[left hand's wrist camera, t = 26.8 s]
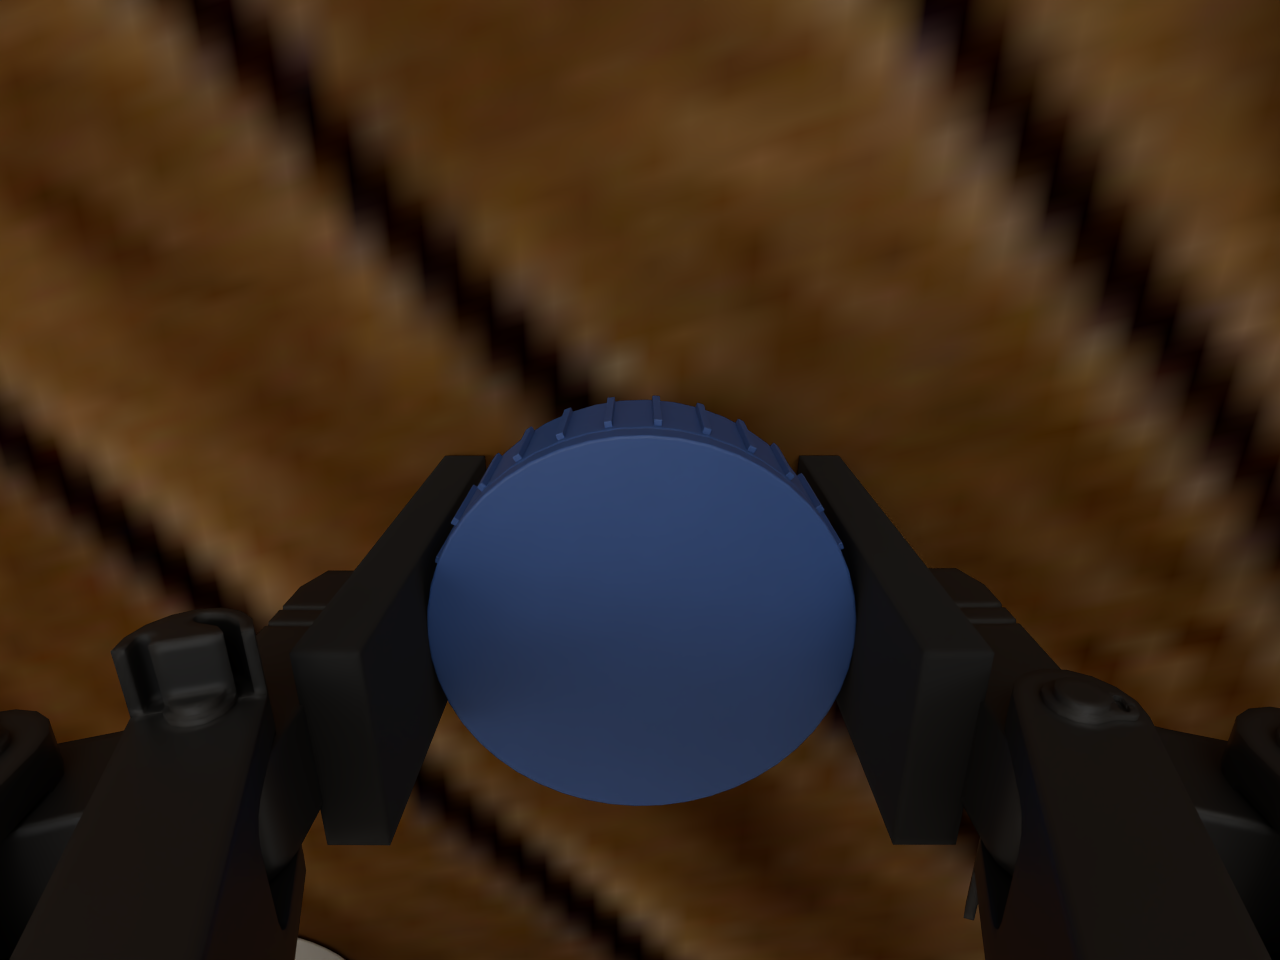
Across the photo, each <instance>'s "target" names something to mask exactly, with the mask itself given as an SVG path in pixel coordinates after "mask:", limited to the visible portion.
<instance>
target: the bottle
mask: <svg viewBox="0 0 1280 960" xmlns="http://www.w3.org/2000/svg"><path fill="white" fill-rule="evenodd" d="M295 960H345V959H344V958H342V957H341V956H339V955H338V954H336V953H334V952H332V951H331V950H329V949H327V948H325V947H322V946H320V945H318V944H315V943H313V942H310V941H307V940H304V939H301V938H298V939H297V947H296V955H295Z"/></svg>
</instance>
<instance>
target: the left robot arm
mask: <svg viewBox="0 0 1280 960" xmlns="http://www.w3.org/2000/svg"><path fill="white" fill-rule="evenodd" d="M485 472H486V466H485V456H445V457H444V458H443V459H442V461H441V462H440V463H439V464H438V466H437V467H436V468H435V469H434V471H433V472H432V473H431V475H430V476H429V477H428V478H427V480H426V481H425V482H424V483H423V485H422V486H421V487H420V488H419V490H418V491H417V492H416V493H415V495H414V496H413V497H412V498H411V500H410V501H409V502H408V504H407V505H406V506H405V507H404V509H403V510H402V511H401V512H400V514H399V515H398V516H397V517H396V519H395V520H394V521H393V522H392V524H391V525H390V526H389V528H388V529H387V530H386V531H385V533H384V534H383V535H382V536H381V538H380V539H379V540H378V541H377V543H376V544H375V545H374V546H373V548H372V549H371V550H370V552H369V553H368V554H367V555H366V557H365V558H364V559H363V560H362V562H361V563H360V564H359V565H358V567H357V568H356V569H355V570H354V571H327V572H325V573H323V574H322V575H320V576H318V577H317V578H315V579H313V580H311V581H310V582H308V583H306V584H305V585H303V586H301V587H300V588H299V589H298V590H297V591H296V592H295V593H294V595H293V596H292V597H291V598H290V599H289V600H288V601H287V602H286V603H285V605H284V606H283V610H279V611H278V612H277V613H276V615H275V616H274V617H273V618H272V619H271V620H270V621H269V626H265V627H264V628H263V629H262V630H261V631H260V632H259V633H258V635H257V636H256V634H255V629H254V625H253V620H252V618H251V617H249V616H248V615H246V614H245V613H243V612H242V611H238V610H232V609H227V608H210V609H197V610H192V611H188V612H183V613H179V614H174V615H171V616H168V617H165V618H163V619H160V620H157V621H155V622H152V623H150V624H147V625H145V626H143V627H141V628H140V629H138V630H136V631H135V632H133V633H131V634H130V635H128V636H126V637H124V638H123V639H122V640H121V641H120V642H119V644H118V645H117V646H116V647H115V648H114V649H113V650H112V651H111V654H112V658H113V661H114V664H115V668H116V671H117V674H118V677H119V681H120V684H121V687H122V691H123V694H124V697H125V701H126V704H127V707H128V710H129V714H130V717H131V718H130V720H129V722H128V724H127V726H126V728H125V730H124V731H120V732H115V733H110V734H105V735H100V736H95V737H90V738H85V739H80V740H74V741H69V742H64V743H59V744H57V741H56V739H55V736H54V733H53V730H52V727H51V724H50V722H49V719H48V718H46V717H45V716H43V715H42V714H40V713H39V712H37V711H27V710H9V711H2V712H0V960H295V955H296V947H297V939H298V931H299V923H300V915H301V907H302V898H303V890H304V882H305V874H306V867H305V861H304V854H303V850H302V845H301V844H302V842H303V840H304V839H305V837H306V835H307V833H308V831H309V829H310V827H311V826H312V824H313V822H314V820H315V818H316V816H317V814H318V812H319V811H320V809H321V814H322V819H323V824H324V829H325V834H326V839H327V844H328V845H390V844H391V842H392V839H393V837H394V834H395V831H396V829H397V826H398V824H399V821H400V819H401V816H402V814H403V811H404V809H405V806H406V804H407V801H408V799H409V796H410V794H411V791H412V789H413V786H414V784H415V781H416V779H417V776H418V774H419V771H420V769H421V766H422V764H423V761H424V759H425V756H426V753H427V751H428V748H429V746H430V743H431V741H432V738H433V736H434V733H435V731H436V728H437V726H438V723H439V721H440V718H441V716H442V713H443V711H444V708H445V706H446V703H447V701H448V699H447V697H446V695H445V693H444V691H443V689H442V687H441V685H440V683H439V681H438V677H437V674H436V671H435V668H434V665H433V662H432V658H431V653H430V646H429V639H428V628H427V607H428V600H429V593H430V586H431V582H432V579H433V576H434V572H435V569H436V566H437V563H435V560H436V556H437V555H438V553H439V551H440V549H441V548H442V546H443V544H444V542H445V541H446V539H447V537H448V535H449V534H450V532H451V530H452V529H453V527H454V525H453V524H451V522H452V520H453V518H454V516H455V515H456V513H457V511H458V510H459V508H460V506H461V505H462V503H463V501H464V500H465V498H466V496H467V494H468V493H469V491H470V489H471V488H472V486H473V485H475V486H478V485H479V483H480V481H481V479H482V478H483V476H484V474H485ZM800 473H802V474H803V476H804V477H805V479H806V480H807V482H808V483H809V485H810V487H811V488H812V490H813V492H814V493H815V495H816V497H817V498H818V500H819V501H820V503H821V505H822V506H823V508H824V511H823V512H824V514H825V515H826V517H827V519H828V520H829V522H830V524H831V525H832V527H833V529H834V530H835V532H836V534H837V535H838V537H839V538H840V540H841V542H842V544H843V547H844V549H841V552H842V554H843V557H844V559H845V562H846V565H847V567H848V570H849V573H850V577H851V581H852V586H853V590H854V595H855V606H856V631H855V642H854V649H853V653H852V657H851V661H850V666H849V669H848V672H847V674H846V677H845V680H844V682H843V685H842V687H841V690H840V692H839V694H838V695H837V697H836V701H837V704H838V706H839V709H840V712H841V714H842V717H843V719H844V722H845V724H846V727H847V729H848V732H849V734H850V737H851V739H852V742H853V744H854V747H855V749H856V752H857V755H858V757H859V760H860V762H861V765H862V767H863V770H864V772H865V775H866V777H867V780H868V782H869V785H870V787H871V790H872V792H873V795H874V797H875V800H876V803H877V805H878V808H879V810H880V813H881V815H882V818H883V820H884V823H885V825H886V828H887V830H888V833H889V835H890V838H891V840H892V843H893V845H956V841H957V836H958V831H959V826H960V821H961V816H962V811H963V806H964V808H965V810H966V812H967V813H968V815H969V817H970V819H971V821H972V823H973V825H974V826H975V828H976V830H977V832H978V834H979V836H980V841H979V845H978V850H977V854H976V859H975V864H974V868H973V873H972V877H971V882H970V886H969V891H968V896H967V900H966V906H965V913H964V918H967V919H970V920H974V918H975V913H976V909H977V905H979V913H980V921H981V929H982V937H983V945H984V953H985V960H1280V708H1275V707H1262V708H1251V709H1247V710H1246V711H1244V712H1243V713H1241V714H1240V715H1238V716H1237V717H1236V720H1235V723H1234V726H1233V729H1232V732H1231V734H1230V737H1229V740H1228V741H1224V740H1219V739H1214V738H1209V737H1204V736H1198V735H1193V734H1188V733H1183V732H1178V731H1173V730H1168V729H1163V728H1160V727H1156V726H1154V725H1153V723H1152V721H1151V719H1150V717H1149V716H1148V714H1147V713H1146V712H1145V711H1144V709H1143V708H1142V707H1141V706H1140V705H1139V703H1138V702H1137V701H1136V700H1134V699H1133V698H1131V697H1130V696H1128V695H1127V694H1125V693H1124V692H1123V691H1121V690H1120V689H1118V688H1117V687H1115V686H1112V685H1110V684H1108V683H1106V682H1103V681H1101V680H1099V679H1097V678H1094V677H1092V676H1088V675H1084V674H1080V673H1076V672H1072V671H1068V670H1061V669H1060V668H1059V667H1058V666H1057V665H1056V663H1055V662H1054V661H1053V660H1052V659H1051V658H1050V657H1049V656H1048V655H1047V653H1046V652H1045V651H1044V650H1043V649H1042V648H1041V647H1040V646H1039V645H1038V644H1037V642H1036V641H1035V640H1034V639H1033V638H1032V637H1031V636H1030V635H1029V634H1028V632H1027V631H1026V630H1025V629H1024V628H1023V627H1022V626H1021V625H1020V624H1016V619H1015V618H1014V617H1013V616H1012V615H1011V614H1010V613H1009V611H1008V610H1007V609H1006V608H1005V607H1002V606H1001V603H1000V602H999V600H998V599H997V598H996V597H995V596H994V595H993V594H992V593H991V592H990V590H989V589H988V588H987V587H986V586H985V585H984V584H982V583H981V582H979V581H977V580H975V579H974V578H972V577H970V576H968V575H967V574H965V573H963V572H962V571H960V570H958V569H956V568H927V567H926V565H925V564H924V563H923V562H922V560H921V559H920V558H919V557H918V555H917V554H916V553H915V551H914V550H913V549H912V548H911V546H910V545H909V544H908V543H907V541H906V540H905V539H904V538H903V536H902V535H901V534H900V533H899V531H898V530H897V529H896V527H895V526H894V525H893V524H892V522H891V521H890V520H889V519H888V517H887V516H886V515H885V514H884V512H883V511H882V510H881V508H880V507H879V506H878V505H877V503H876V502H875V501H874V500H873V498H872V497H871V496H870V495H869V493H868V492H867V491H866V489H865V488H864V487H863V486H862V484H861V483H860V482H859V481H858V479H857V478H856V477H855V476H854V474H853V473H852V472H851V471H850V469H849V468H848V467H847V465H846V464H845V463H844V462H843V460H842V459H841V458H840V457H839V456H799V466H798V475H799V474H800Z"/></svg>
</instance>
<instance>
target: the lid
mask: <svg viewBox="0 0 1280 960" xmlns="http://www.w3.org/2000/svg"><path fill="white" fill-rule="evenodd" d="M823 511H824V508H823V506H822V505H821V503H820V501H819V500H818V498H817V497H816V495H815V493H814V492H813V490H812V488H811V487H810V485H809V483H808V482H807V480H806V479H805V477H804V476H803V474H802V473H800V474H799V475H796V474H795V472H794V471H793V470H792V469H791V467H790V466H789V465H788V463H787V461H786V459H785V458H784V456H783V454H782V452H781V451H780V449H779V447H778V446H777V445H776V444H775V443H773V444H772V445H771V446H769V445H768V444H767V443H766V442H764V441H763V440H762V439H760V438H759V437H757V436H756V435H754V434H753V433H752V432H750V431H749V430H748V429H747V427H746V425H745V423H744V422H743V421H742V420H740V419H738V420H737V421H736V423H734V422H733V421H731V420H729V419H727V418H725V417H723V416H720V415H717V414H714V413H712V412H709V411H706V410H705V407H704V405H703V404H700V403H697V404H696V407H693V406H688V405H684V404H679V403H675V402H665V401H660V396H652V400H629V401H617V402H615V397H611V398H608V399H607V403H604V404H598V405H593V406H590V407H587V408H583V409H580V410H577V411H572V409H571V408H568V409H565V410H564V413H563V416H561V417H559V418H557V419H554V420H552V421H550V422H548V423H546V424H544V425H543V426H541V427H539V428H538V429H536V430H534V429H533V428H532V427H530V428H528V429H527V430H526V431H525V433H524V435H523V437H522V439H521V440H520V441H519V442H518V443H516V444H515V445H514V446H513V447H512V448H510V449H509V450H508V451H507V452H506V453H505V454H504V455H503V456H502V455H501V454H499V453H498V454H497V455H496V456H495V457H494V458H493V460H492V462H491V464H490V465H489V467H488V469H487V471H486V472H485V474H484V476H483V478H482V479H481V481H480V483H479V485H478V486H475V485H473V486H472V488H471V489H470V491H469V493H468V494H467V496H466V498H465V500H464V501H463V503H462V505H461V506H460V508H459V510H458V511H457V513H456V515H455V516H454V518H453V520H452V522H451V524H453V525H454V527H453V529H452V530H451V532H450V534H449V535H448V537H447V539H446V541H445V542H444V544H443V546H442V548H441V549H440V551H439V553H438V555H437V556H436V560H435V563H437V566H436V569H435V572H434V576H433V579H432V582H431V586H430V593H429V600H428V607H427V628H428V639H429V646H430V653H431V658H432V662H433V665H434V668H435V671H436V674H437V677H438V681H439V683H440V685H441V687H442V689H443V691H444V693H445V695H446V697H447V699H448V702H449V703H450V705H451V706H452V708H453V709H454V711H455V712H456V714H457V715H458V717H459V718H460V720H461V721H462V723H463V724H464V725H465V726H466V728H467V729H468V730H469V731H470V732H471V733H472V734H473V736H474V737H475V738H476V739H477V740H478V741H479V742H480V743H481V744H482V745H483V746H484V747H485V748H487V749H488V750H489V751H490V752H491V753H492V754H493V755H494V756H496V757H497V758H498V759H500V760H501V761H502V762H504V763H505V764H507V765H508V766H510V767H511V768H512V769H514V770H515V771H517V772H519V773H520V774H522V775H524V776H526V777H528V778H530V779H532V780H533V781H535V782H537V783H539V784H542V785H544V786H547V787H549V788H551V789H554V790H556V791H559V792H561V793H565V794H568V795H572V796H575V797H579V798H582V799H586V800H591V801H597V802H602V803H608V804H618V805H632V806H646V805H665V804H673V803H681V802H687V801H691V800H696V799H700V798H704V797H708V796H712V795H715V794H717V793H720V792H723V791H726V790H729V789H732V788H734V787H737V786H739V785H741V784H743V783H745V782H747V781H749V780H751V779H753V778H755V777H757V776H759V775H760V774H762V773H764V772H765V771H767V770H768V769H770V768H772V767H773V766H775V765H776V764H778V763H779V762H780V761H782V760H783V759H784V758H785V757H787V756H788V755H789V754H790V753H792V752H793V751H794V750H795V749H797V748H798V747H799V746H800V745H801V744H802V743H803V742H804V740H805V739H806V738H807V737H808V736H809V735H810V734H811V733H812V732H813V731H814V730H815V729H816V727H817V726H818V725H819V723H820V722H821V721H822V719H823V718H824V717H825V715H826V714H827V713H828V711H829V710H830V708H831V706H832V704H833V703H834V701H835V699H836V697H837V695H838V694H839V692H840V690H841V687H842V685H843V682H844V680H845V677H846V674H847V672H848V669H849V666H850V661H851V657H852V653H853V649H854V642H855V631H856V606H855V595H854V590H853V586H852V581H851V577H850V573H849V570H848V567H847V565H846V562H845V559H844V557H843V554H842V552H841V549H844V547H843V544H842V542H841V540H840V538H839V537H838V535H837V534H836V532H835V530H834V529H833V527H832V525H831V524H830V522H829V520H828V519H827V517H826V515H825V514H824V512H823Z"/></svg>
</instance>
